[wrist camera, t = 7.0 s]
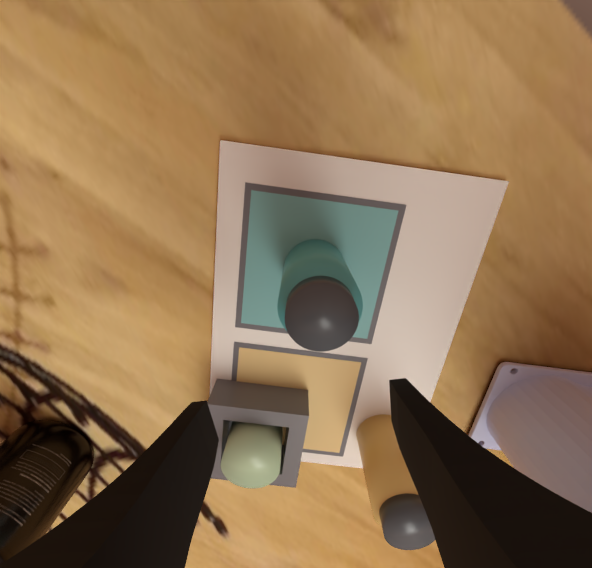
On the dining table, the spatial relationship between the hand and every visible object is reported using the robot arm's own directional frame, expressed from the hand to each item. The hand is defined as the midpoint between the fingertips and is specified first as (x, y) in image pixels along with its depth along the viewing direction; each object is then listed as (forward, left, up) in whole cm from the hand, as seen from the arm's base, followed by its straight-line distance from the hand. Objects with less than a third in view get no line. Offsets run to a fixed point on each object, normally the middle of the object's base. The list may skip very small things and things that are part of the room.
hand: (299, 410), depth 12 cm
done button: (+2, +10, -9) cm, 13 cm away
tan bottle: (-8, +10, -10) cm, 16 cm away
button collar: (+2, +10, -10) cm, 14 cm away
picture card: (-2, +2, -10) cm, 10 cm away
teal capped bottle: (0, -3, -10) cm, 10 cm away
